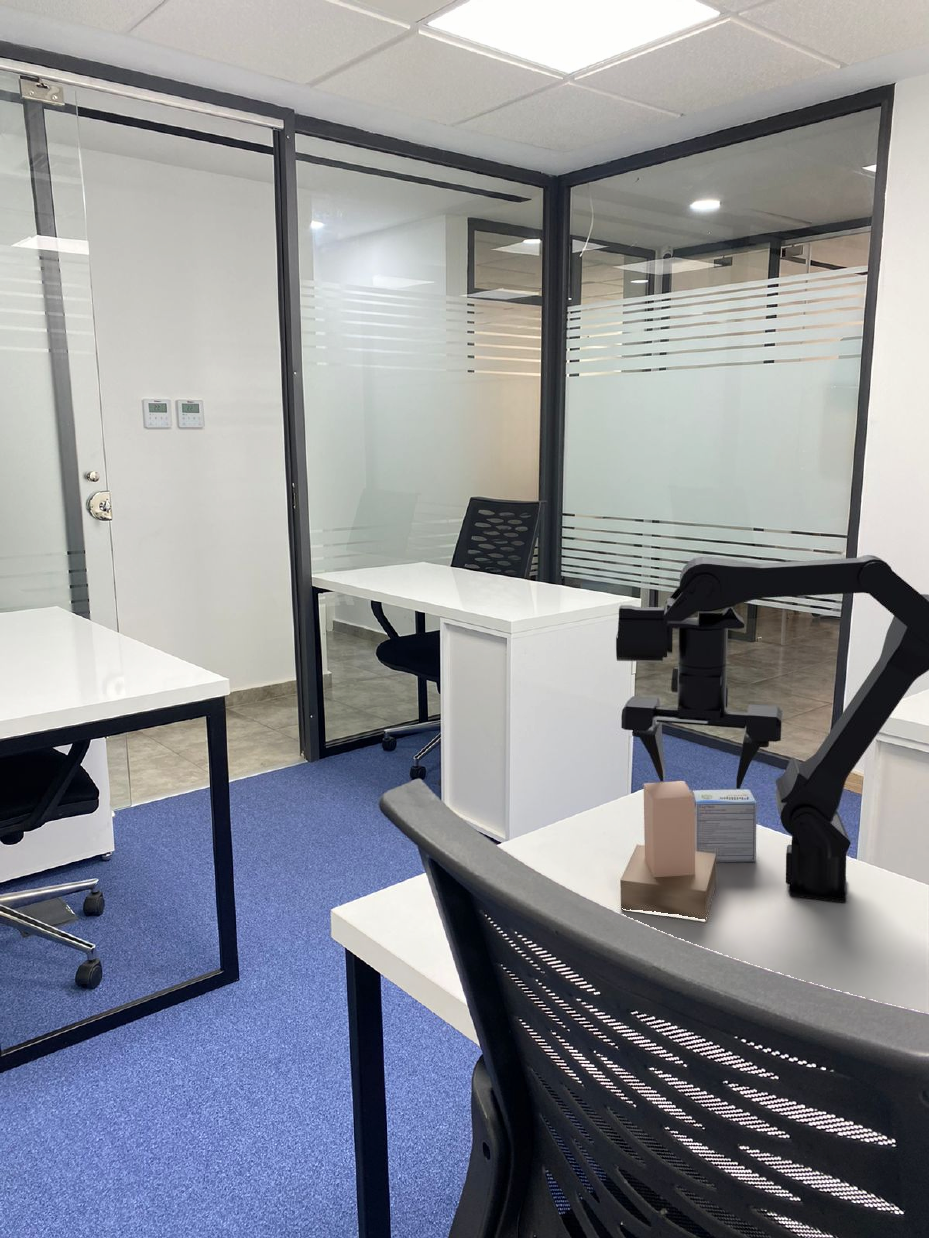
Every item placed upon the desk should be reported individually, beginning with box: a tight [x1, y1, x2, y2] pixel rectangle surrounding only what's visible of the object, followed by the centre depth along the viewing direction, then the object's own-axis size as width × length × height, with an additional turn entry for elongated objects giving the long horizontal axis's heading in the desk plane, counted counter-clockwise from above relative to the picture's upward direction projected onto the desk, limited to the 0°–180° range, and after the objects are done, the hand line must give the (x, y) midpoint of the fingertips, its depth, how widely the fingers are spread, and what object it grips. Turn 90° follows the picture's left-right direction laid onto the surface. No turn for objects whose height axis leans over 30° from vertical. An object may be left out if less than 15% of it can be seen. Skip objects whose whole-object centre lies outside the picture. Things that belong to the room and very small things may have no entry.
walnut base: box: [620, 844, 717, 921], centre depth 114 cm, size 10×10×4 cm
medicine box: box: [691, 789, 758, 863], centre depth 123 cm, size 8×4×9 cm, turn 84°
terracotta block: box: [643, 780, 695, 877], centre depth 113 cm, size 5×5×10 cm
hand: (699, 783), depth 115 cm, fingers open, 9 cm apart
